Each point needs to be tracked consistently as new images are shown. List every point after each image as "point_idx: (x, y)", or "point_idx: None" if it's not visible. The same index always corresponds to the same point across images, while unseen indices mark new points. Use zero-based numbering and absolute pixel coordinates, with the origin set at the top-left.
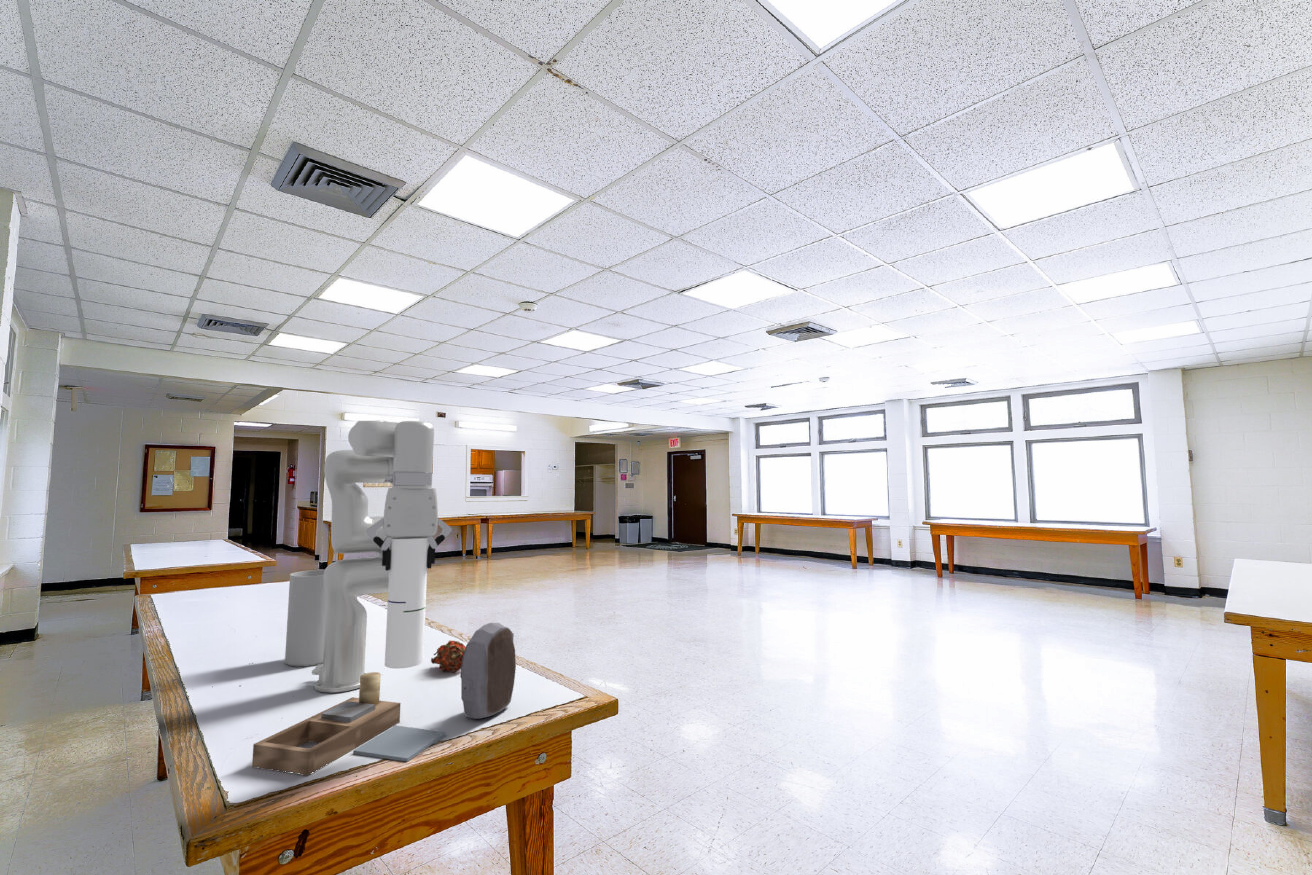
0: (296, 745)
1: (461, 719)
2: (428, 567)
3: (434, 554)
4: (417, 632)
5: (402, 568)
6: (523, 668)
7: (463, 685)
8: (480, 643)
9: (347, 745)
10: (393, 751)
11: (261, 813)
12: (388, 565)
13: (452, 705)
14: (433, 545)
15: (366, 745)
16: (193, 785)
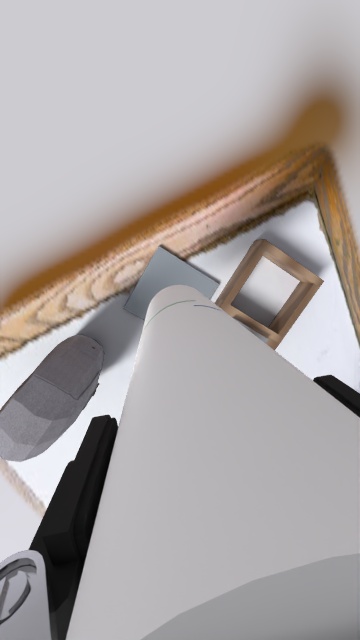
0: (277, 315)
1: (109, 348)
2: (109, 417)
3: (50, 508)
4: (155, 304)
5: (248, 343)
6: (41, 498)
7: (95, 351)
8: (44, 380)
9: (227, 287)
10: (176, 269)
11: (282, 168)
12: (332, 388)
13: (124, 392)
14: (13, 594)
15: (207, 293)
16: (351, 252)
